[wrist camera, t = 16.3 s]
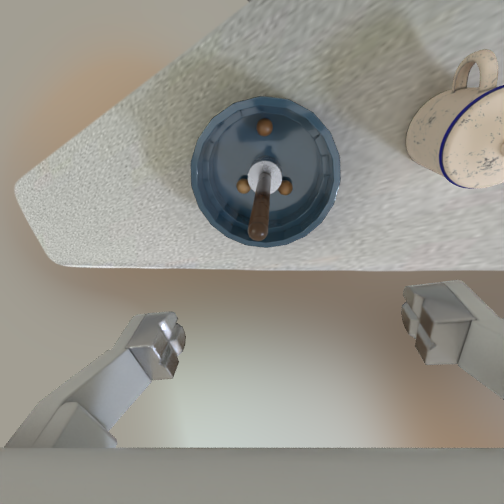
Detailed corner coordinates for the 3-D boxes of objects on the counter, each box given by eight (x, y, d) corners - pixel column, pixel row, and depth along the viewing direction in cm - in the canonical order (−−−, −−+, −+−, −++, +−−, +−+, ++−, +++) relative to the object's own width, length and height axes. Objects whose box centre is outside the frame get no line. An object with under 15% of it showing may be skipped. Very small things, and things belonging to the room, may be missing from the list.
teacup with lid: (481, 155, 32) (574, 182, 22) (403, 177, 34) (456, 211, 24) (494, 39, 26) (627, 6, 16) (400, 75, 28) (466, 64, 18)
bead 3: (295, 190, 35) (287, 179, 35) (295, 186, 33) (286, 175, 33) (284, 199, 35) (275, 188, 36) (283, 196, 33) (274, 184, 34)
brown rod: (246, 159, 34) (221, 213, 18) (278, 152, 33) (281, 203, 18) (253, 190, 36) (236, 262, 21) (283, 185, 35) (290, 255, 20)
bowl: (185, 115, 32) (168, 119, 27) (326, 79, 29) (336, 76, 24) (222, 235, 41) (215, 255, 36) (333, 217, 38) (342, 236, 33)
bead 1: (235, 178, 34) (248, 174, 34) (233, 184, 36) (246, 180, 36) (240, 192, 34) (254, 188, 34) (238, 197, 35) (251, 193, 36)
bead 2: (260, 119, 32) (253, 117, 30) (275, 118, 31) (268, 116, 29) (260, 137, 32) (253, 136, 31) (275, 136, 31) (268, 135, 30)
